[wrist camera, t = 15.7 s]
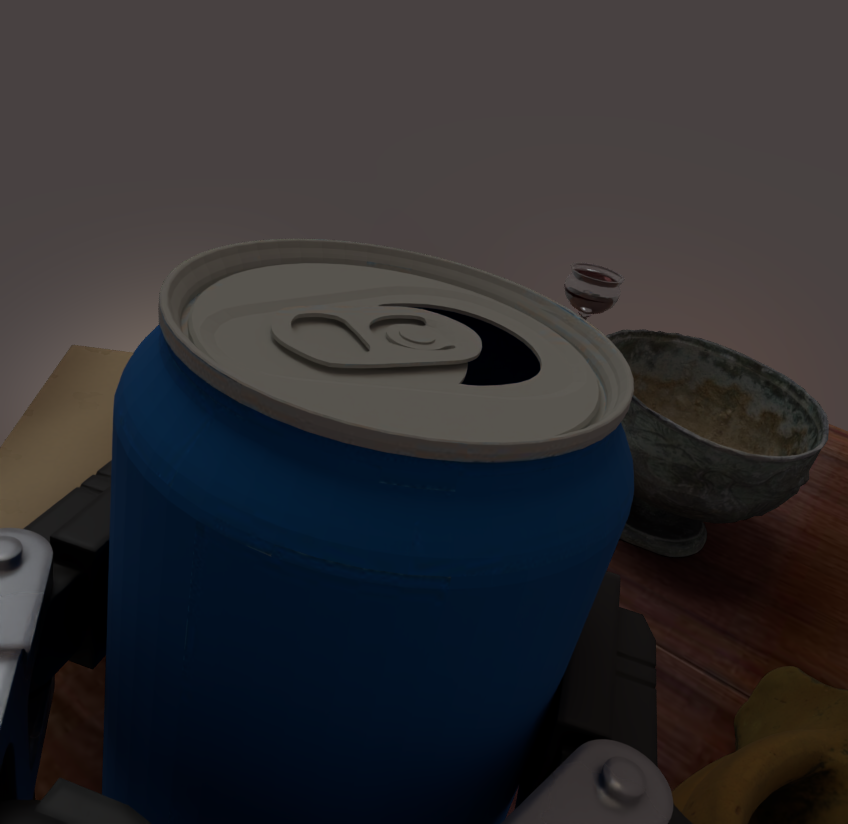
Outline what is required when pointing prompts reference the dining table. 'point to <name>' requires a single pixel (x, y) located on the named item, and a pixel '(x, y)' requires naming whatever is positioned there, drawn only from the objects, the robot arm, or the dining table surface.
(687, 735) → the dining table surface
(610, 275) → the wineglass
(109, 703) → the beverage can
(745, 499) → the bowl
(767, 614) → the dining table surface
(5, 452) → the stool
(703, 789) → the brown looped sculpture
